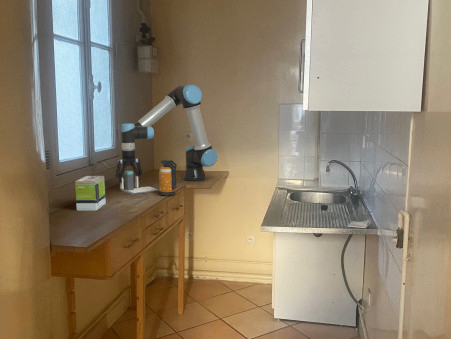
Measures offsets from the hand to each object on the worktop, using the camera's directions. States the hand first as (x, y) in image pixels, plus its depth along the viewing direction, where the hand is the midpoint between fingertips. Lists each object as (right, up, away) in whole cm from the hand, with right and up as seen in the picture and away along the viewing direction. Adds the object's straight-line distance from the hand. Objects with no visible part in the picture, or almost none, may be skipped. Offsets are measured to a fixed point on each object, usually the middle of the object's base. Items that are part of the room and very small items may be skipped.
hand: (129, 187), depth 260 cm
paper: (+7, -2, +1) cm, 7 cm away
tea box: (-9, -8, -43) cm, 45 cm away
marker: (0, -1, 0) cm, 1 cm away
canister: (+25, -4, -12) cm, 28 cm away
